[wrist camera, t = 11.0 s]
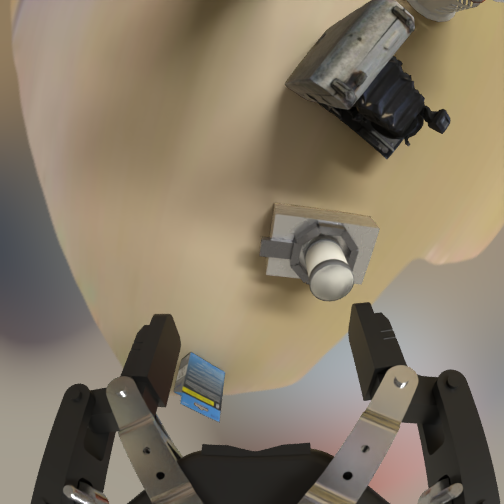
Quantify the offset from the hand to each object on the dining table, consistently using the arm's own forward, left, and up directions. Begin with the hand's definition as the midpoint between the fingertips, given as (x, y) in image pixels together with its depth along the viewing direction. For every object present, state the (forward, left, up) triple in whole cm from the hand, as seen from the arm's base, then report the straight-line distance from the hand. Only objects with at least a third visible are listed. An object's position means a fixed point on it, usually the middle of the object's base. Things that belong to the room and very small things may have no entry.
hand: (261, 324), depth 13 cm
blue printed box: (+40, -7, -29) cm, 50 cm away
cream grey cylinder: (+9, +9, -25) cm, 28 cm away
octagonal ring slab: (+9, +9, -29) cm, 32 cm away
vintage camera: (-12, +10, -29) cm, 33 cm away
